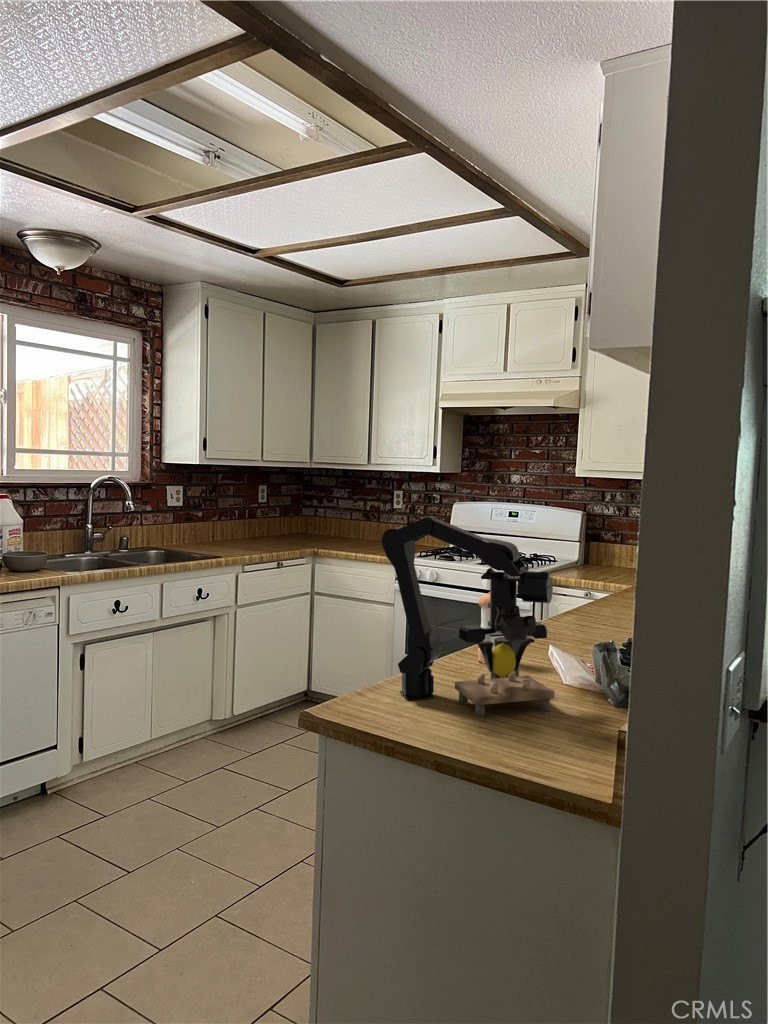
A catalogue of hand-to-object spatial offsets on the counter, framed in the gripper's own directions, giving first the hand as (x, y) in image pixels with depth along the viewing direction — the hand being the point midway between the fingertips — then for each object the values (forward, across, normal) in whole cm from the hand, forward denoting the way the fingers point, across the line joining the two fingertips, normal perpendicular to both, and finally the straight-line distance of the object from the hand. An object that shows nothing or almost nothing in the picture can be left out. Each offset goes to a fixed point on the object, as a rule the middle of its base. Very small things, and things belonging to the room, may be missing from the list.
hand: (502, 670), depth 169 cm
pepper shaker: (+8, +13, +38) cm, 41 cm away
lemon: (+2, 0, 0) cm, 2 cm away
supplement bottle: (+8, +6, +13) cm, 17 cm away
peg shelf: (+8, 0, 0) cm, 8 cm away
